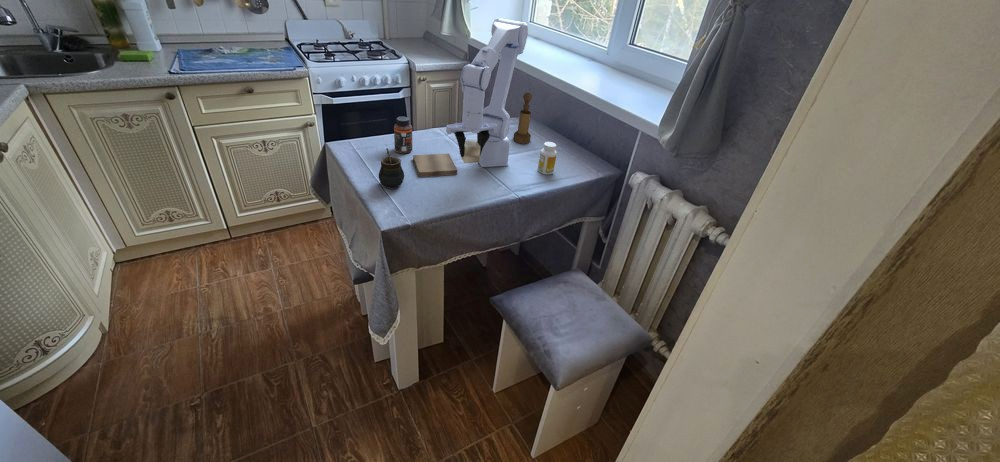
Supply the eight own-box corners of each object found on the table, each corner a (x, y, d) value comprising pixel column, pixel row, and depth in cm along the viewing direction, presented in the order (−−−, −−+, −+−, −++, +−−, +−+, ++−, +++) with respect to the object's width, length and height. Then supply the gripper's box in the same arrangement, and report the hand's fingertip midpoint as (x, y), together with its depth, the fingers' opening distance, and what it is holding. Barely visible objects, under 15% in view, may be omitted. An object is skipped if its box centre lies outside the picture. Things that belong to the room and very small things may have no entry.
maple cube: (475, 155, 131) (476, 140, 128) (479, 162, 127) (480, 146, 125) (460, 156, 129) (461, 140, 127) (464, 163, 126) (465, 147, 123)
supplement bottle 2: (554, 169, 146) (560, 143, 141) (551, 176, 142) (556, 149, 137) (539, 165, 148) (544, 139, 142) (535, 172, 143) (540, 145, 138)
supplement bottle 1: (408, 155, 144) (408, 123, 138) (391, 152, 145) (390, 120, 138) (415, 148, 149) (414, 117, 142) (398, 145, 150) (397, 114, 143)
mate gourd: (385, 193, 123) (383, 161, 118) (374, 181, 128) (372, 150, 122) (408, 187, 127) (407, 156, 121) (397, 176, 132) (396, 146, 126)
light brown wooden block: (448, 158, 146) (448, 153, 145) (457, 175, 137) (457, 170, 136) (413, 160, 143) (413, 155, 141) (419, 178, 133) (419, 172, 132)
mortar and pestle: (530, 144, 162) (537, 97, 151) (513, 142, 161) (519, 95, 151) (529, 137, 167) (536, 91, 157) (513, 135, 167) (518, 89, 156)
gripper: (450, 116, 114) (449, 162, 122) (502, 114, 119) (497, 159, 127) (445, 106, 120) (443, 151, 128) (494, 105, 124) (490, 149, 132)
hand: (470, 154), depth 128 cm, fingers closed on maple cube, 4 cm apart
